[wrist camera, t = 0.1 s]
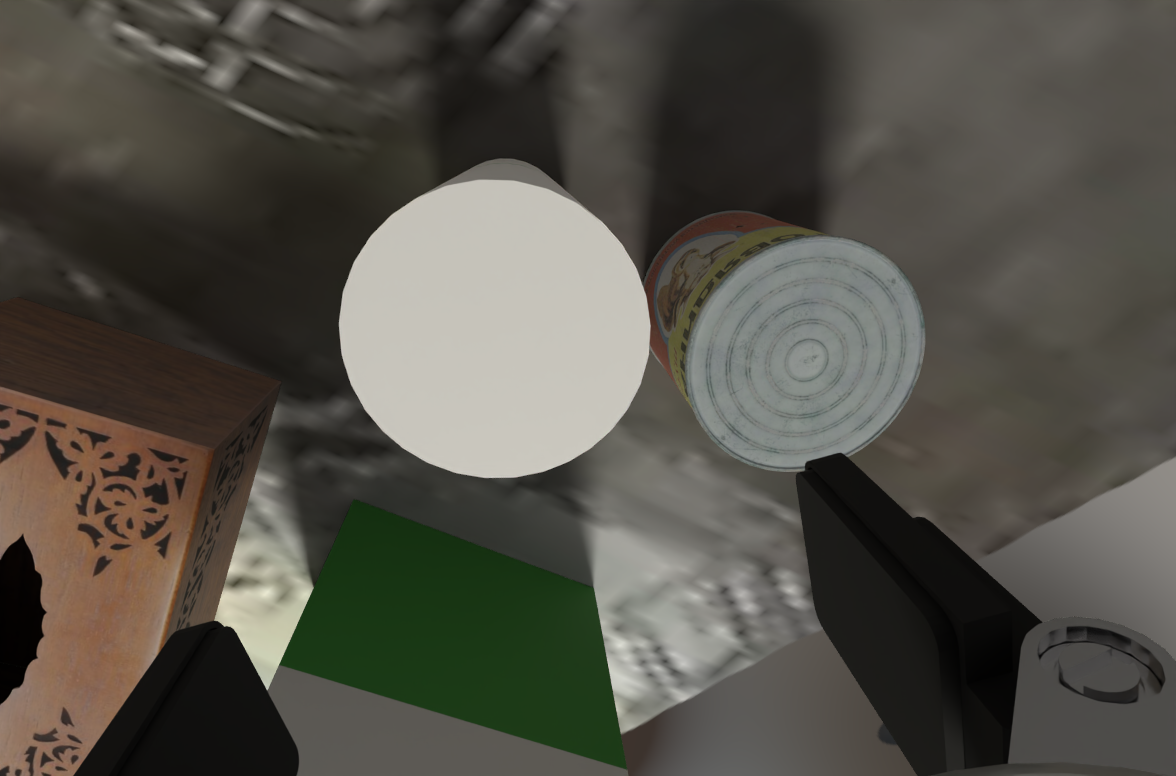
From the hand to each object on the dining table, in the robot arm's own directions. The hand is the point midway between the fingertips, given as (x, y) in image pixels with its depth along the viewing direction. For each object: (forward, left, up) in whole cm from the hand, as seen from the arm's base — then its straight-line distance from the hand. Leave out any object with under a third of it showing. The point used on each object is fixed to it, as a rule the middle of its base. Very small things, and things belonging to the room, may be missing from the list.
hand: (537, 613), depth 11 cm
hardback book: (+20, -10, -31) cm, 39 cm away
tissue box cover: (+9, -29, -32) cm, 44 cm away
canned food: (+5, +12, -31) cm, 34 cm away
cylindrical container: (-3, 0, -31) cm, 32 cm away
